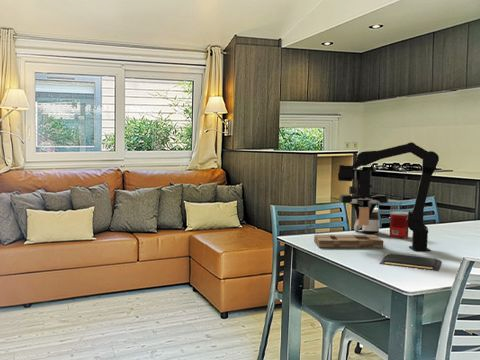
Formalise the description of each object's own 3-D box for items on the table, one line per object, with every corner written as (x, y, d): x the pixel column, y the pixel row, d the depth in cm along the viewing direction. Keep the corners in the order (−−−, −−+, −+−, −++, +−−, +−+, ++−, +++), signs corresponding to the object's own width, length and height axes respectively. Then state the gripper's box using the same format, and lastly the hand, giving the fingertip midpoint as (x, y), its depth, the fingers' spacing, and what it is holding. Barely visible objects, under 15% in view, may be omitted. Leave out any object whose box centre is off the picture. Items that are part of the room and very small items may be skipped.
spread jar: (379, 235, 217) (380, 210, 216) (354, 234, 219) (354, 209, 218) (377, 230, 228) (378, 206, 227) (353, 229, 231) (354, 205, 230)
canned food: (410, 238, 210) (411, 214, 209) (392, 238, 210) (393, 214, 209) (404, 235, 218) (405, 211, 217) (387, 234, 218) (388, 211, 217)
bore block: (383, 248, 192) (383, 240, 192) (319, 248, 191) (319, 240, 191) (374, 241, 204) (374, 234, 203) (314, 241, 203) (314, 234, 203)
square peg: (368, 225, 195) (369, 208, 194) (359, 225, 195) (359, 208, 194) (366, 223, 199) (366, 207, 198) (356, 223, 199) (357, 207, 198)
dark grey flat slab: (443, 257, 172) (438, 268, 159) (442, 263, 172) (438, 273, 159) (386, 251, 181) (377, 260, 168) (386, 256, 182) (377, 265, 168)
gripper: (380, 180, 203) (379, 216, 205) (337, 180, 203) (336, 216, 205) (388, 182, 192) (387, 220, 194) (342, 182, 192) (342, 220, 193)
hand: (362, 219), depth 197 cm, fingers closed on square peg, 4 cm apart
